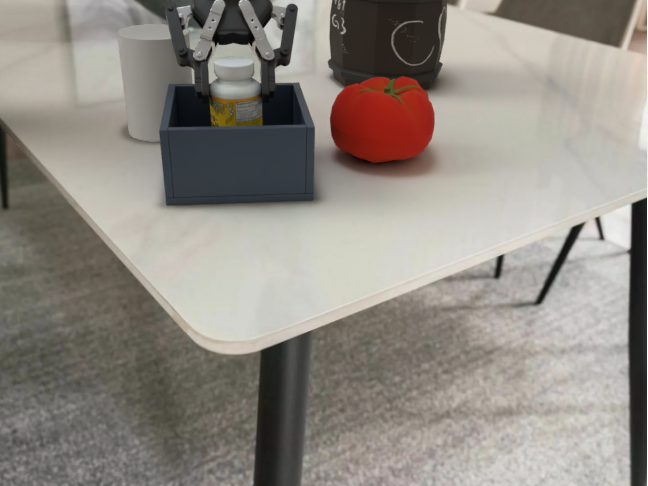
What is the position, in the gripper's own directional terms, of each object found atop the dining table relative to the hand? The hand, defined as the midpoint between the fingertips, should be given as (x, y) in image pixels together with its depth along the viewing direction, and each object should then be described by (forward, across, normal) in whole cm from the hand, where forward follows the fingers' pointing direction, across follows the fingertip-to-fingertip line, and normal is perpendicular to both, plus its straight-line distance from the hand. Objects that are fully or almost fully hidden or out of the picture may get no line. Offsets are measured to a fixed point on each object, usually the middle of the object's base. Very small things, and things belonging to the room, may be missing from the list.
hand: (236, 99), depth 68 cm
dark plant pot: (-19, +24, +32) cm, 45 cm away
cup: (-5, -9, +17) cm, 20 cm away
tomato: (+2, +17, +10) cm, 20 cm away
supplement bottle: (+3, 0, +6) cm, 7 cm away
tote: (+5, 0, +7) cm, 9 cm away
